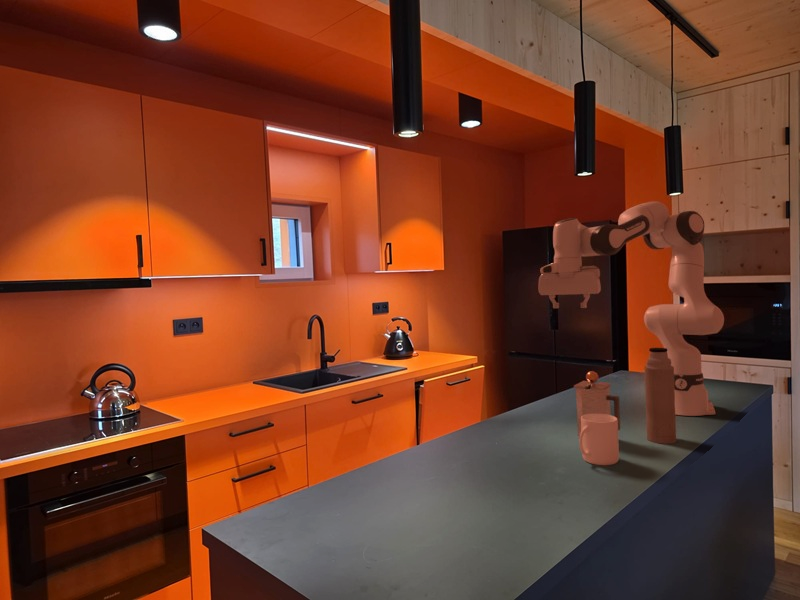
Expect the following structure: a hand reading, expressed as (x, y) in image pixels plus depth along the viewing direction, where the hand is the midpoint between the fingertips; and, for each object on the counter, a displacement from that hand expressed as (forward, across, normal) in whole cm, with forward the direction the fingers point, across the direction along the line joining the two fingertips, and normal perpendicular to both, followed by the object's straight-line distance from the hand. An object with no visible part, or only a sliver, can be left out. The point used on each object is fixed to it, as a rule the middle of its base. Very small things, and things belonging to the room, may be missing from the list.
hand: (569, 308), depth 173 cm
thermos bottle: (+40, -27, +2) cm, 49 cm away
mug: (+40, -17, +30) cm, 53 cm away
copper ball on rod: (+36, -10, +11) cm, 39 cm away
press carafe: (+40, -12, +11) cm, 43 cm away
